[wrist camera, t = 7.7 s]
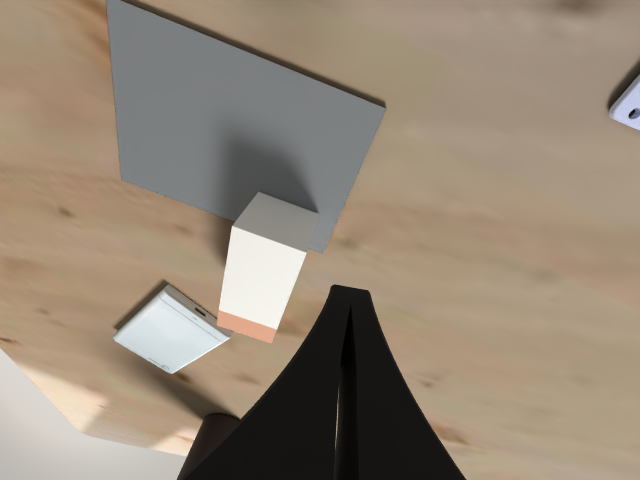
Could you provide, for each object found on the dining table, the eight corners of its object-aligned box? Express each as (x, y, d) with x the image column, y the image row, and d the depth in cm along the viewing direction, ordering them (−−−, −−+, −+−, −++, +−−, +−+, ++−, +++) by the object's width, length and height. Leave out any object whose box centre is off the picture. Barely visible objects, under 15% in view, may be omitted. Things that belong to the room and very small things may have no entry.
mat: (386, 108, 16) (386, 108, 16) (323, 251, 22) (322, 253, 22) (110, -5, 15) (105, -6, 15) (124, 178, 21) (121, 180, 21)
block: (306, 252, 16) (271, 343, 22) (319, 214, 20) (285, 300, 26) (232, 225, 16) (216, 325, 22) (258, 191, 19) (239, 284, 25)
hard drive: (171, 375, 34) (229, 340, 28) (110, 338, 32) (161, 291, 26) (179, 363, 36) (236, 327, 30) (121, 326, 33) (171, 280, 27)
